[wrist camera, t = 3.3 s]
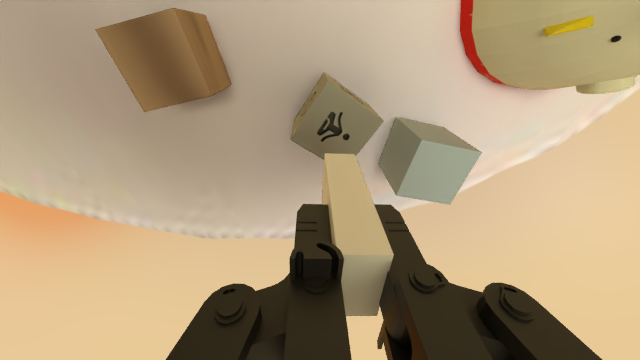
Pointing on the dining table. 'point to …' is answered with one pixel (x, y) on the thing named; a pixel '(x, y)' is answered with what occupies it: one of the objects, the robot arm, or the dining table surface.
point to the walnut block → (166, 57)
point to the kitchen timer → (554, 43)
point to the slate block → (426, 161)
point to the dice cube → (334, 120)
